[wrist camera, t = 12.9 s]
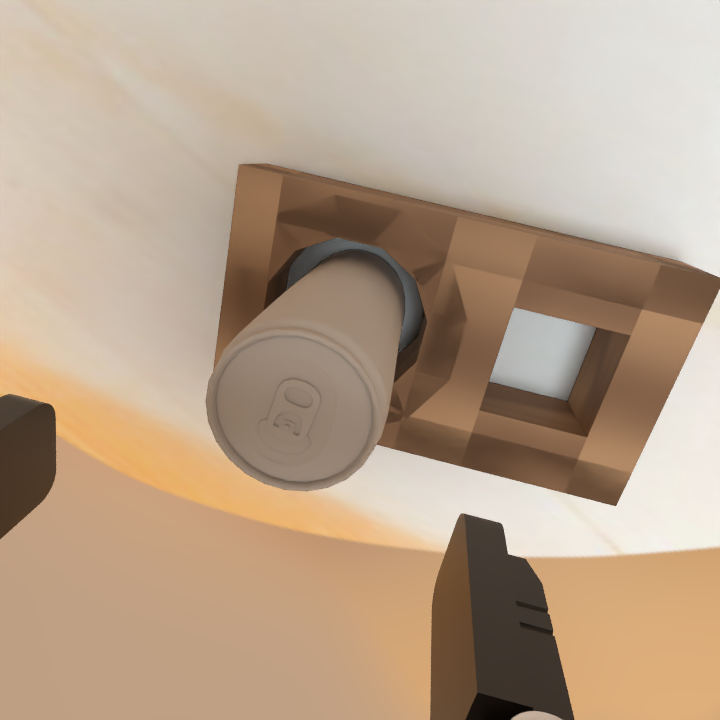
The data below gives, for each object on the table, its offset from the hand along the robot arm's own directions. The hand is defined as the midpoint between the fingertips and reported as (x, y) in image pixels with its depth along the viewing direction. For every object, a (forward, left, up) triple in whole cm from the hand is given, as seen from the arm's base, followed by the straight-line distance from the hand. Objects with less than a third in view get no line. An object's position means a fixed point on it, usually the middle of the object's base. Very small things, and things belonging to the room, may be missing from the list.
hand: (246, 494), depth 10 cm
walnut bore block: (0, +4, -16) cm, 16 cm away
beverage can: (0, 0, -16) cm, 16 cm away
